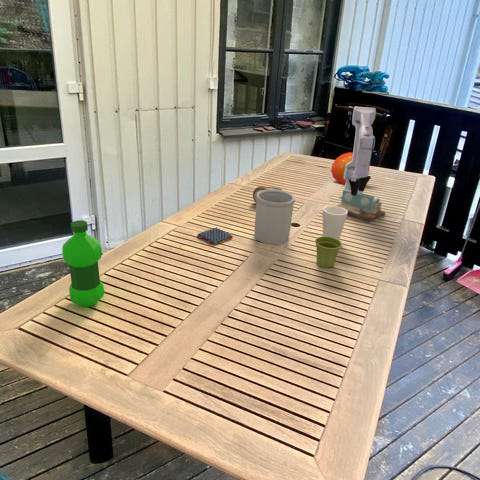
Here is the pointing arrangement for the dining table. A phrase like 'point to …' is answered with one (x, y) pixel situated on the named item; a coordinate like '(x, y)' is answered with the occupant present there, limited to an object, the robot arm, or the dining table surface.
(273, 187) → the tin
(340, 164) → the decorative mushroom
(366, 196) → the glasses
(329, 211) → the foam cup
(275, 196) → the utensil holder
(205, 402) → the dining table surface
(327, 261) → the plant pot
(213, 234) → the woven mat
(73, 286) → the plastic bottle
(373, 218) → the display stand
